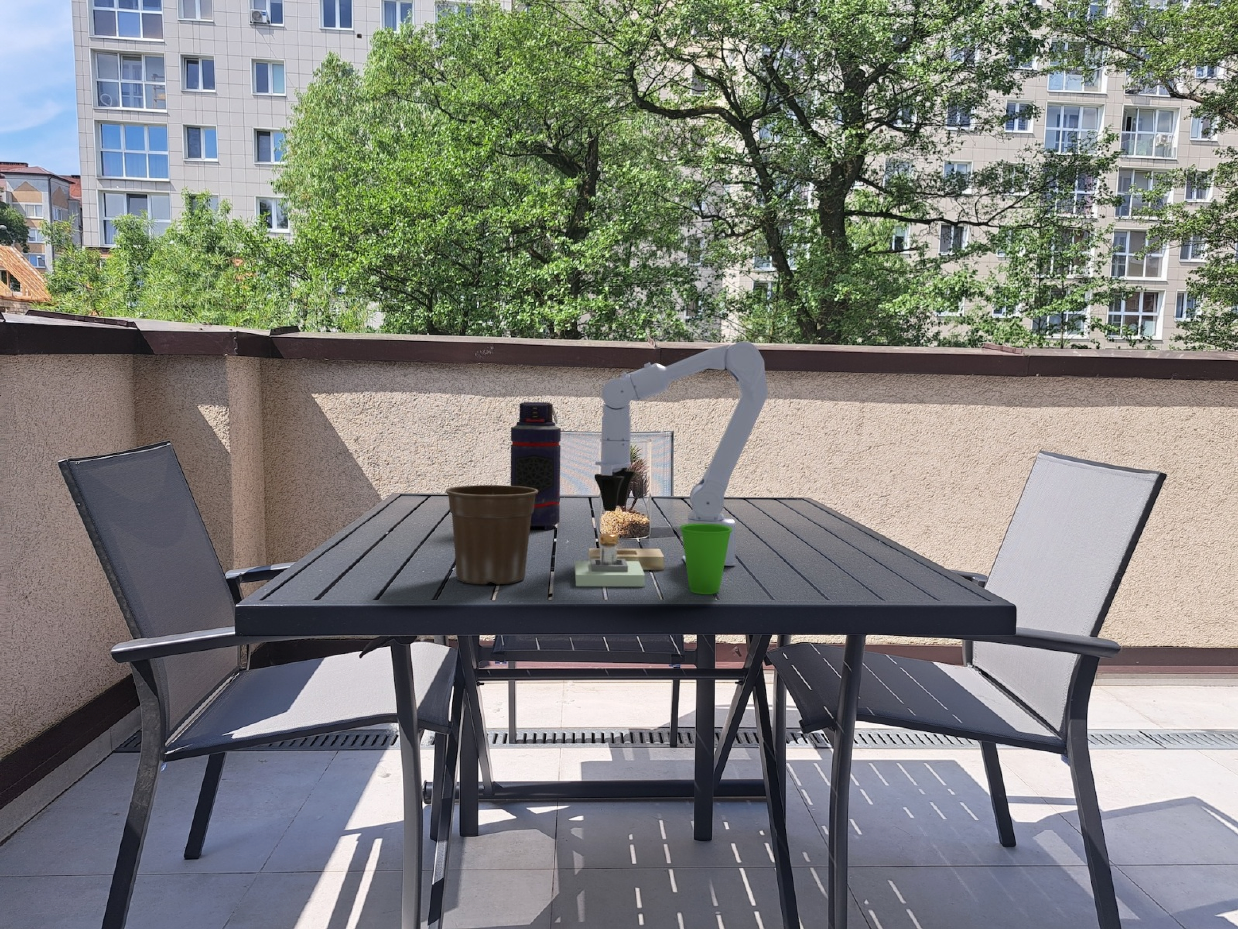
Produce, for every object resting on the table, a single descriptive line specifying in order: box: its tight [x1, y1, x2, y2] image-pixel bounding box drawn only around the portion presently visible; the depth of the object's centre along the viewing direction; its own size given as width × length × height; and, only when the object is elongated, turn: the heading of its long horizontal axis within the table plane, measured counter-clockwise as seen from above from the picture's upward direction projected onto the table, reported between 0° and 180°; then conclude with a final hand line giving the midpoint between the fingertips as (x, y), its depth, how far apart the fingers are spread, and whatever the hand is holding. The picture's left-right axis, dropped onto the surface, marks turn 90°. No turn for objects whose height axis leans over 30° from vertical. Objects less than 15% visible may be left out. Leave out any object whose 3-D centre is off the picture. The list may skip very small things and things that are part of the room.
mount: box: [588, 547, 665, 571], centre depth 176 cm, size 14×8×2 cm, turn 94°
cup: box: [679, 523, 733, 595], centre depth 156 cm, size 9×9×11 cm
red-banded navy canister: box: [510, 401, 562, 531], centre depth 219 cm, size 14×12×30 cm
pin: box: [598, 532, 619, 565], centre depth 164 cm, size 3×3×8 cm
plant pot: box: [445, 484, 538, 585], centre depth 162 cm, size 16×16×16 cm
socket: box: [574, 559, 646, 587], centre depth 164 cm, size 12×12×3 cm
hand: (614, 508), depth 180 cm, fingers open, 7 cm apart
